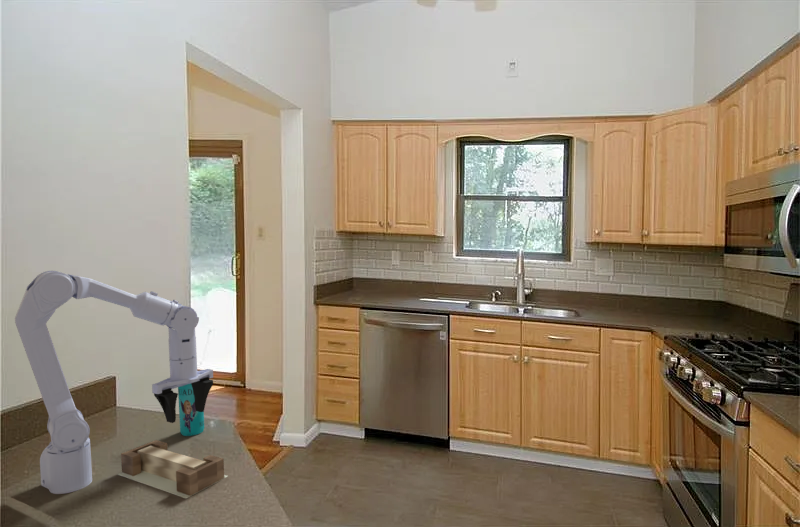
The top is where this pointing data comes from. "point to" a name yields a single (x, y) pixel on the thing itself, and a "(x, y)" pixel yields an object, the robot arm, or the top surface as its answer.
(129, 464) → the left end cap
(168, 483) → the base board
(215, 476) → the right end cap
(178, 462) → the slat
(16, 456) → the top surface
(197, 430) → the beverage can
